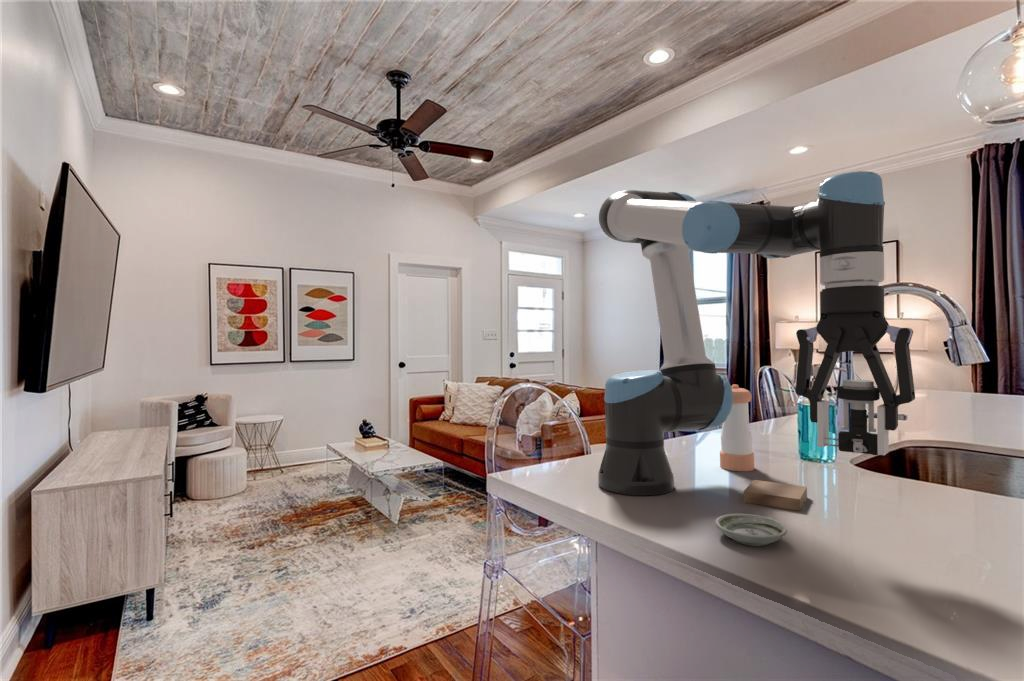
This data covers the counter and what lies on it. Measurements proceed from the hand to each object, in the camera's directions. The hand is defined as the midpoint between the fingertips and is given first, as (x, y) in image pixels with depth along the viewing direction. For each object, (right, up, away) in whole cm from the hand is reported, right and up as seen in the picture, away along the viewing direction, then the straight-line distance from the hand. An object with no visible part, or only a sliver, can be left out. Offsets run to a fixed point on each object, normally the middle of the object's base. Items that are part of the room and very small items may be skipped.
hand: (852, 448), depth 72 cm
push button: (0, -1, 0) cm, 1 cm away
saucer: (-13, -14, +4) cm, 20 cm away
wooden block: (0, -14, +21) cm, 26 cm away
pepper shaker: (+4, -14, +45) cm, 48 cm away
